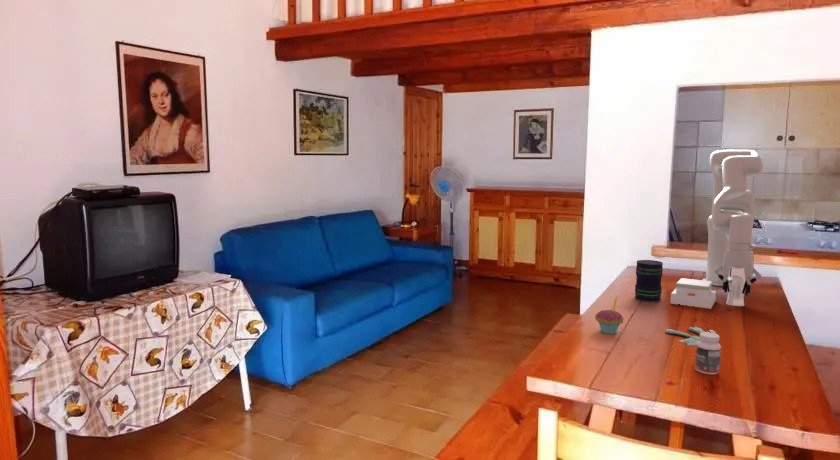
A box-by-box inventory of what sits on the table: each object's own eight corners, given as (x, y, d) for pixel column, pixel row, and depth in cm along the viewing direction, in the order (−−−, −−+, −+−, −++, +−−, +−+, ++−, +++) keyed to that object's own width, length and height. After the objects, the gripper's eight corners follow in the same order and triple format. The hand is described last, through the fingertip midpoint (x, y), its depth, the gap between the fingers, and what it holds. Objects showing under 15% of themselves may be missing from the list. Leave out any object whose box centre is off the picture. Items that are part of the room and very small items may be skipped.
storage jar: (634, 300, 222) (635, 263, 220) (634, 294, 231) (636, 259, 229) (661, 302, 218) (663, 265, 216) (660, 297, 227) (663, 260, 225)
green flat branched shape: (690, 350, 165) (691, 342, 165) (642, 329, 186) (642, 322, 186) (746, 345, 171) (747, 337, 170) (693, 324, 191) (694, 317, 191)
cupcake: (622, 329, 184) (624, 293, 182) (622, 337, 176) (624, 299, 174) (595, 326, 186) (596, 291, 185) (594, 334, 178) (595, 297, 177)
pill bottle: (690, 367, 150) (692, 331, 149) (710, 366, 150) (713, 331, 149) (703, 375, 144) (705, 338, 143) (724, 374, 145) (726, 337, 144)
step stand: (676, 296, 228) (678, 276, 227) (715, 301, 221) (716, 281, 220) (670, 303, 217) (671, 283, 216) (710, 308, 209) (712, 287, 208)
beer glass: (740, 302, 218) (743, 264, 216) (749, 307, 211) (751, 268, 209) (721, 302, 219) (724, 264, 217) (729, 306, 212) (732, 267, 210)
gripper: (766, 247, 211) (762, 294, 213) (714, 243, 220) (712, 288, 222) (765, 250, 204) (761, 298, 207) (712, 246, 214) (709, 292, 216)
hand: (736, 292), depth 214 cm, fingers closed on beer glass, 6 cm apart
